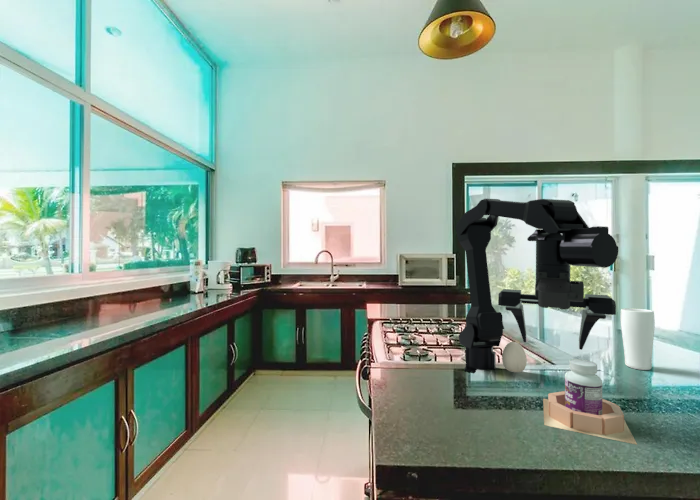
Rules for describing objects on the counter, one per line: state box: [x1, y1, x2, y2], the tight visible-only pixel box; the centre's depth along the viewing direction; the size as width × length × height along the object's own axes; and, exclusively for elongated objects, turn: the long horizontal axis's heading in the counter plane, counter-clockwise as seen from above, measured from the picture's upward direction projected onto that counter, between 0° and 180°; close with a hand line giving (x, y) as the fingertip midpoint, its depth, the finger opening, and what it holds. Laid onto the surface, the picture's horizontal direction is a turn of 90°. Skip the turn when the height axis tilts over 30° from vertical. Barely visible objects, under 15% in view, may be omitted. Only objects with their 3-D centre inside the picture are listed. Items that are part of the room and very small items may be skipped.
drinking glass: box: [620, 307, 656, 371], centre depth 88 cm, size 7×7×15 cm
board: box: [542, 398, 638, 446], centre depth 58 cm, size 12×12×1 cm
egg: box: [501, 341, 528, 373], centre depth 83 cm, size 6×6×8 cm
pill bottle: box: [564, 358, 603, 415], centre depth 58 cm, size 5×5×10 cm
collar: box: [547, 390, 625, 435], centre depth 58 cm, size 10×10×2 cm
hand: (551, 345), depth 65 cm, fingers open, 9 cm apart
